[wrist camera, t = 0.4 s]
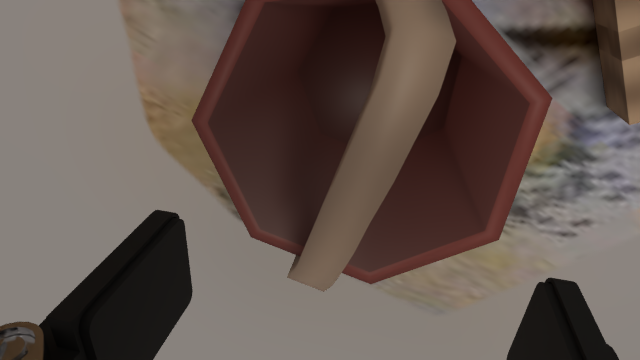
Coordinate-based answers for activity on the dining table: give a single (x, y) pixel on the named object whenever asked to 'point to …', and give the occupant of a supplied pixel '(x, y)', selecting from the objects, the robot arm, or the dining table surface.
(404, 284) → the dining table surface
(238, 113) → the bucket
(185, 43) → the dining table surface
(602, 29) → the tan flat board
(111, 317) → the robot arm
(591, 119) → the dining table surface
